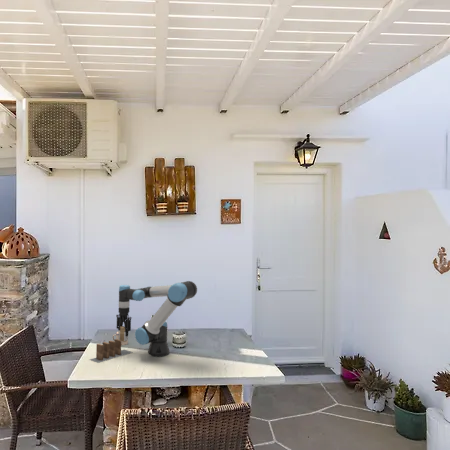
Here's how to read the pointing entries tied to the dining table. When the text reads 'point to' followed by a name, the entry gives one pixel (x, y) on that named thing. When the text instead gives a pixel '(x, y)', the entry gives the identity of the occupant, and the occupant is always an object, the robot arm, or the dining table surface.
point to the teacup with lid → (118, 338)
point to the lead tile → (122, 333)
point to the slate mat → (123, 352)
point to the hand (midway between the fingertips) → (123, 339)
